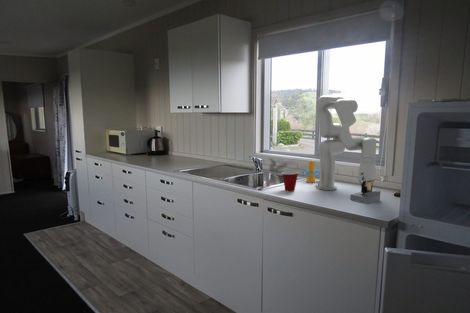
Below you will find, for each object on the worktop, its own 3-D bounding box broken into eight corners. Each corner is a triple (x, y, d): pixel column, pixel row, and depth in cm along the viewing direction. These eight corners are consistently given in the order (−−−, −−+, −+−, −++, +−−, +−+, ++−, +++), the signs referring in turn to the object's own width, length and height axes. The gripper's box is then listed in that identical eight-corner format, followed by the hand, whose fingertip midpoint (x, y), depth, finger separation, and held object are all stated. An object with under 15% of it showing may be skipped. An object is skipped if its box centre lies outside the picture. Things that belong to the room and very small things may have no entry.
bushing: (360, 195, 184) (361, 181, 183) (365, 194, 186) (365, 180, 185) (368, 196, 180) (368, 182, 179) (372, 195, 183) (373, 181, 182)
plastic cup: (288, 187, 214) (288, 169, 213) (301, 190, 206) (302, 172, 205) (277, 190, 207) (277, 171, 205) (291, 193, 199) (291, 174, 198)
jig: (350, 199, 185) (350, 190, 184) (362, 196, 192) (362, 187, 191) (368, 203, 176) (368, 194, 176) (380, 200, 183) (380, 191, 183)
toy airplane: (301, 182, 231) (301, 161, 229) (303, 179, 240) (303, 159, 239) (318, 183, 227) (319, 162, 225) (320, 180, 236) (321, 160, 234)
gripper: (370, 158, 189) (368, 189, 191) (353, 160, 179) (351, 193, 181) (382, 159, 183) (381, 191, 185) (365, 162, 173) (364, 195, 175)
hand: (366, 192), depth 183 cm, fingers closed on bushing, 4 cm apart
